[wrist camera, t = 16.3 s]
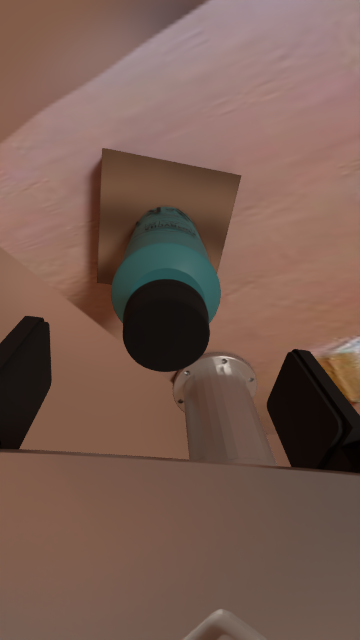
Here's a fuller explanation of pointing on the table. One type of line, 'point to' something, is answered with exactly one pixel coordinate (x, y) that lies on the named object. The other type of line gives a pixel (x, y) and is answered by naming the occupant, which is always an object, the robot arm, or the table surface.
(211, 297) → the beverage bottle
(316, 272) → the table surface
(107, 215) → the walnut plinth
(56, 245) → the table surface
